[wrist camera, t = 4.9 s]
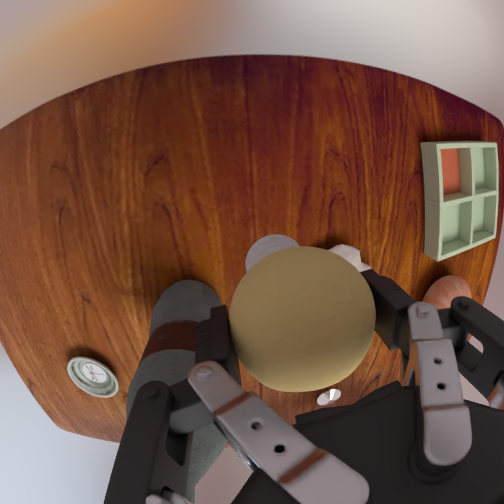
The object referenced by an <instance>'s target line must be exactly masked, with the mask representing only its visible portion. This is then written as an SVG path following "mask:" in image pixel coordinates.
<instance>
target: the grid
mask: <svg viewBox="0 0 504 504" xmlns="http://www.w3.org/2000/svg"><path fill="white" fill-rule="evenodd" d="M420 144H421V153H422V163H423V176H424V195H425V243H424V254H426V255H428V256H429V257H431V258H433V259H434V260H436V261H437V262H438V261H441V260H443V259H446V258H448V257H451V256H453V255H456V254H458V253H461V252H463V251H466V250H468V249H470V248H473V247H475V246H478V245H480V244H482V243H485V242H487V241H489V240H491V239H494V238H495V236H496V226H497V213H498V154H497V143H494V142H487V141H440V142H421V143H420Z"/></svg>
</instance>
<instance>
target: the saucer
mask: <svg viewBox="0 0 504 504" xmlns="http://www.w3.org/2000/svg"><path fill="white" fill-rule="evenodd" d="M67 369H68V373H69V376H70V377H71V379H72V380H73V382H74V383H75V384H76V385H77V386H78V387H79V388H81V389H82V390H84V391H85V392H87V393H89V394H91V395H94V396H97V397H111V396H114V395H115V394H116V393H117V392H118V389H119V383H118V380H117V378H116V376H115V375H114V374H113V372H112V371H111V370H110V369H109V368H108V367H107V366H105V365H104V364H103V363H101V362H99V361H97V360H95V359H92V358H88V357H81V356H80V357H75V358H72V359H71V360H70V361H69V363H68V366H67Z"/></svg>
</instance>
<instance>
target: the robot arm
mask: <svg viewBox="0 0 504 504" xmlns="http://www.w3.org/2000/svg"><path fill="white" fill-rule="evenodd" d="M360 273H361V275H362V276H363V277H364V278H365V280H366V281H367V283H368V285H369V287H370V290H371V292H372V295H373V299H374V304H375V309H376V320H375V328H374V330H375V331H376V332H377V334H378V335H379V336H380V338H381V339H382V340H383V342H384V343H385V344H386V346H387V347H388V348H389V350H390V351H392V350H394V349H397V348H400V349H401V352H400V382H399V381H398V380H397V381H395V382H392V383H390V384H388V385H385V386H383V387H380V388H378V389H376V390H374V391H373V392H371V393H370V394H368V395H367V396H365V397H364V398H362V399H361V400H359V401H358V402H356V403H354V404H352V405H347V406H338V407H329V408H321V409H318V410H315V411H311V412H308V413H304V414H300V415H296V416H295V418H296V424H294V425H292V426H291V425H290V424H289V423H288V422H287V421H285V420H284V419H283V418H282V417H281V416H280V415H279V414H277V413H276V412H275V411H274V410H273V409H272V408H271V407H270V406H269V405H267V404H266V403H265V402H264V401H263V400H262V399H261V398H260V397H259V396H258V395H257V394H256V393H254V392H252V391H250V392H249V393H248V392H246V391H245V390H244V389H243V388H242V384H241V376H240V368H239V360H238V355H237V353H236V351H235V349H234V346H233V343H232V339H231V335H230V329H229V313H228V309H227V306H226V305H221V306H217V307H212V308H210V319H206V320H202V321H201V322H200V324H199V325H198V327H197V334H196V336H197V337H196V350H195V365H194V366H193V367H192V368H191V369H190V370H189V372H188V374H187V378H186V379H184V380H183V381H181V382H178V383H176V384H173V385H171V386H167V384H166V383H164V382H162V381H158V380H155V381H150V382H147V383H145V384H144V385H142V386H141V387H140V388H139V389H138V391H137V393H136V396H135V399H134V402H133V405H132V408H131V411H130V414H129V417H128V420H127V423H126V426H125V429H124V432H123V436H122V439H121V442H120V446H119V449H118V452H117V456H116V459H115V462H114V466H113V470H112V473H111V477H110V481H109V485H108V489H107V492H106V496H105V500H104V504H193V503H191V502H190V501H188V500H187V499H186V490H187V481H188V473H189V464H190V456H191V448H192V440H193V433H194V430H197V429H199V428H202V427H204V426H207V425H209V424H211V423H213V425H214V426H215V427H216V428H217V430H218V431H219V432H220V433H221V435H222V436H223V437H224V438H225V440H226V441H227V442H228V443H229V445H230V446H231V447H232V448H233V449H234V451H235V452H236V453H237V454H238V456H239V457H240V458H241V460H242V461H243V462H244V463H245V464H246V466H247V467H248V468H249V469H250V470H251V471H252V472H253V473H252V474H251V476H250V477H249V479H248V480H247V482H246V483H245V485H244V486H243V488H242V489H241V490H240V492H239V493H238V494H237V496H236V497H235V499H234V500H233V501H232V503H231V504H504V321H503V320H501V319H500V318H498V317H497V316H496V315H494V314H493V313H492V312H490V311H489V310H487V309H486V308H484V307H483V306H482V305H480V304H479V303H477V302H476V301H474V300H473V299H471V298H469V297H466V296H458V297H455V298H453V299H452V301H451V305H450V308H444V309H436V307H435V306H433V305H432V304H430V303H427V302H416V301H415V300H414V299H413V298H412V297H411V296H409V295H408V294H407V293H406V292H405V291H404V290H402V288H401V287H399V286H398V285H397V284H396V283H395V282H394V281H393V280H392V279H390V278H387V277H385V276H379V275H378V274H377V273H376V272H375V271H374V270H373V269H369V270H365V271H361V272H360ZM469 333H470V334H471V335H473V336H474V337H475V338H476V339H478V340H479V341H480V342H481V343H482V345H483V349H484V350H483V354H482V353H481V352H480V351H479V350H477V349H476V348H475V347H474V346H473V345H471V344H470V343H469V342H468V341H467V339H468V336H469ZM459 372H460V373H461V374H462V375H463V376H464V377H465V378H466V379H467V380H468V381H469V382H470V383H471V384H472V385H473V386H474V387H475V388H476V389H477V390H478V391H479V392H480V393H481V394H482V395H483V396H484V397H485V398H486V399H487V400H488V402H489V405H490V407H489V406H486V405H482V404H479V403H475V402H471V401H468V400H465V399H463V394H462V388H461V382H460V376H459Z"/></svg>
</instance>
